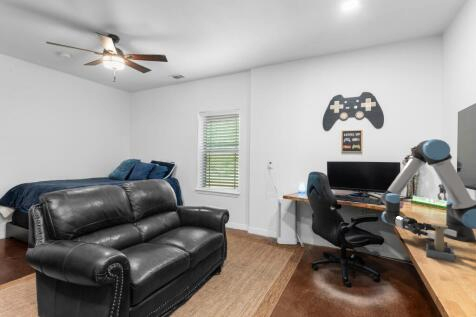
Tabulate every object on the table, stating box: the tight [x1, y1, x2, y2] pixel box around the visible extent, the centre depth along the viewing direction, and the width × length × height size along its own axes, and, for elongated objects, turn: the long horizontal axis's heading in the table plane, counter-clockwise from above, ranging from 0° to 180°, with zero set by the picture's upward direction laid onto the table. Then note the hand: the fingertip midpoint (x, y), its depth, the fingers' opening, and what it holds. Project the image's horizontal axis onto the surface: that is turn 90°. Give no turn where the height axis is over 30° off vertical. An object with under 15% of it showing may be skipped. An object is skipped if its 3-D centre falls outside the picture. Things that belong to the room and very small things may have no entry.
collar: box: [418, 237, 449, 247], centre depth 135 cm, size 10×8×3 cm
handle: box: [430, 222, 448, 253], centre depth 122 cm, size 5×6×15 cm
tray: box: [425, 243, 456, 263], centre depth 122 cm, size 12×11×4 cm
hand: (445, 235), depth 119 cm, fingers open, 13 cm apart
